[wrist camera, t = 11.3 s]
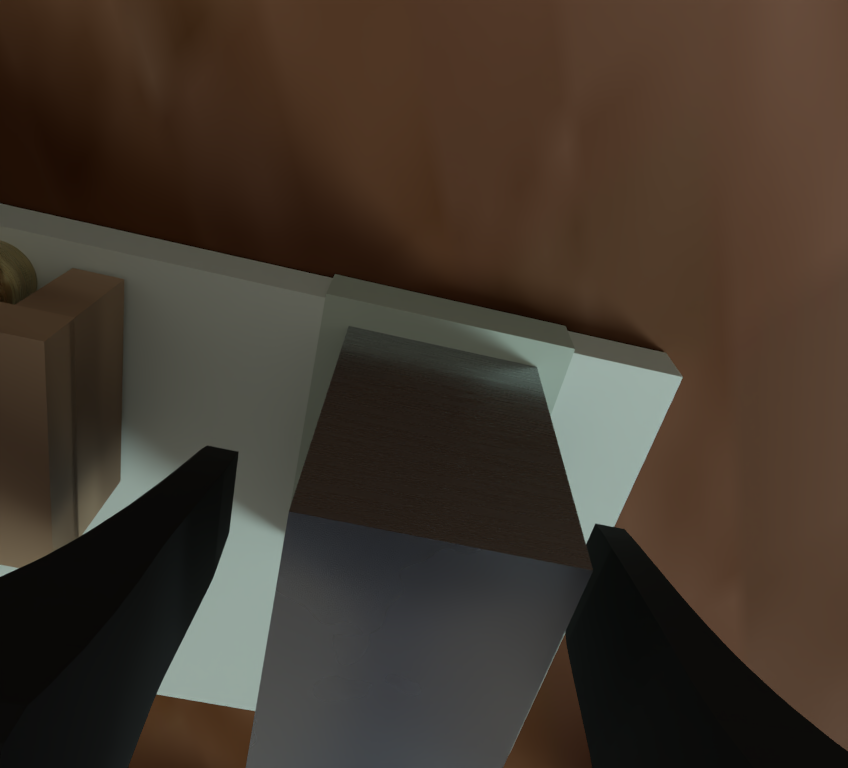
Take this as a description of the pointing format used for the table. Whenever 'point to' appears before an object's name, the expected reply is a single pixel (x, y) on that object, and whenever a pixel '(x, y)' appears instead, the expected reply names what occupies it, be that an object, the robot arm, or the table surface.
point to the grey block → (419, 565)
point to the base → (307, 402)
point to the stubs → (15, 275)
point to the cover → (59, 411)
